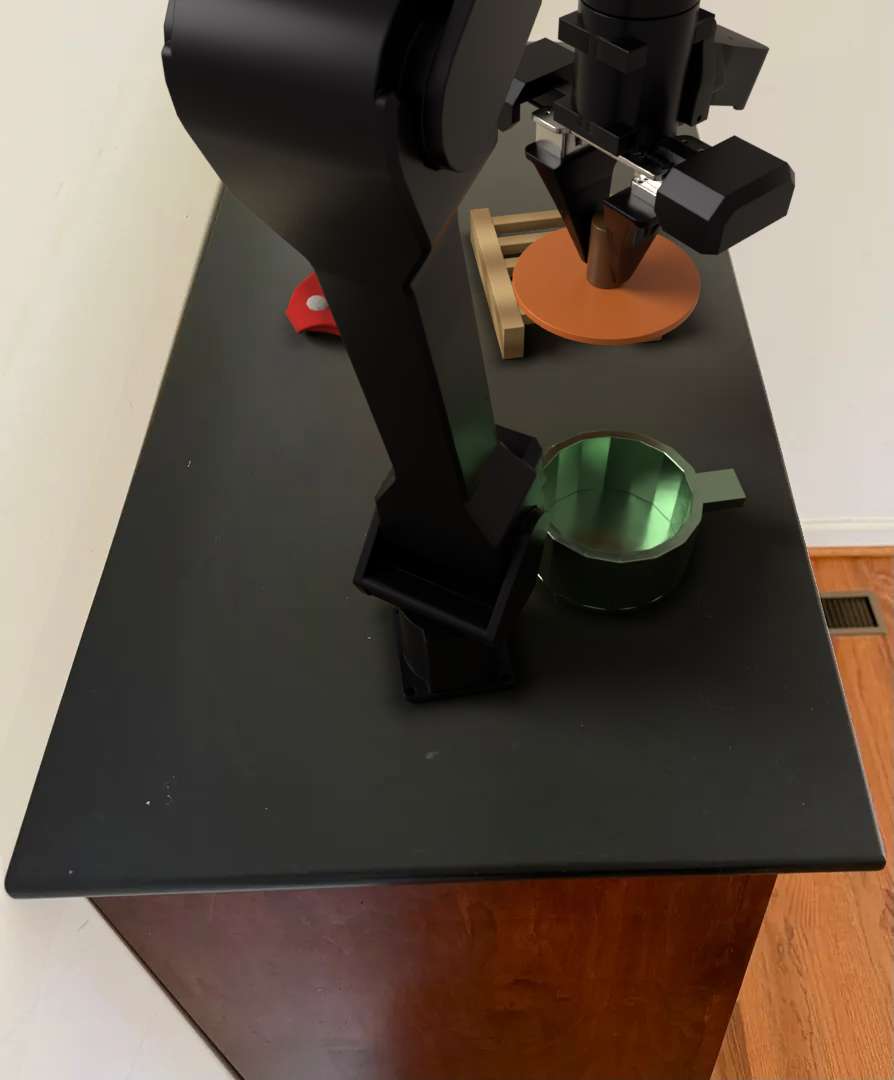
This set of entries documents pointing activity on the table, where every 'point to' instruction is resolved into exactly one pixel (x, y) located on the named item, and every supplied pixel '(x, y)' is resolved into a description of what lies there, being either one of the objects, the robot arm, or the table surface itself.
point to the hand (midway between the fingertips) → (606, 270)
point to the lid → (604, 289)
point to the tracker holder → (310, 308)
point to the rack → (507, 268)
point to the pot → (623, 518)
